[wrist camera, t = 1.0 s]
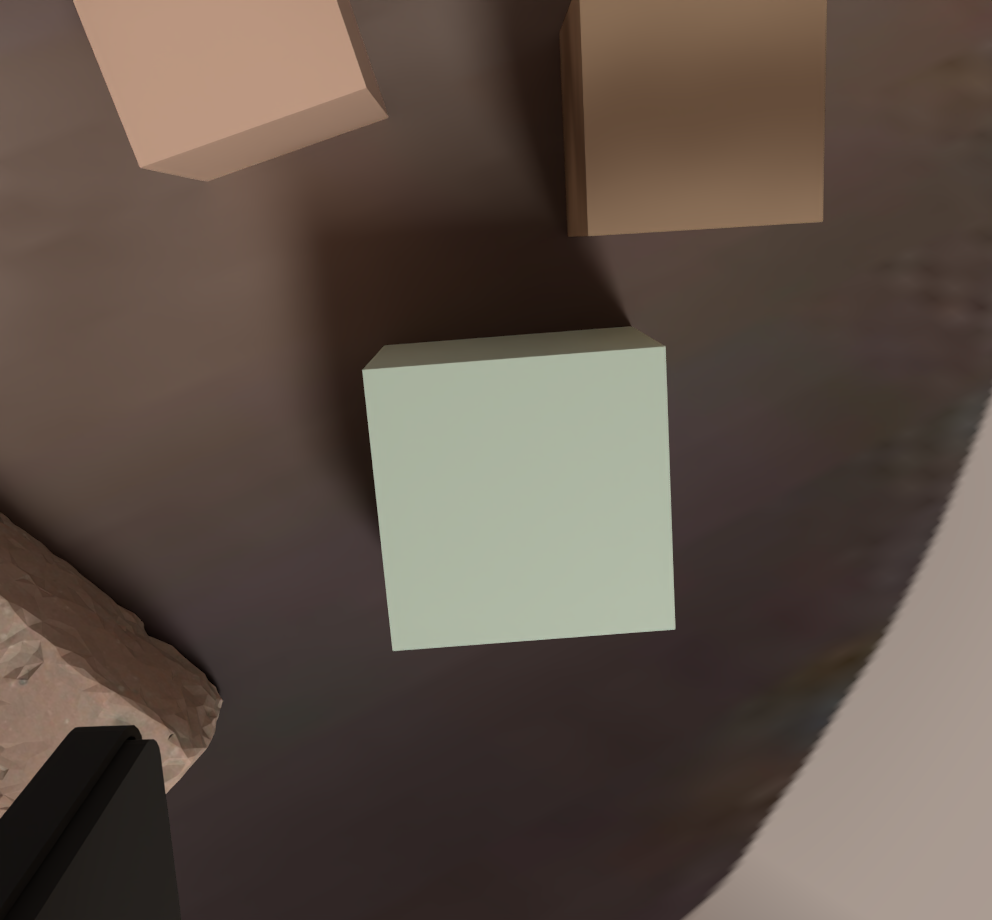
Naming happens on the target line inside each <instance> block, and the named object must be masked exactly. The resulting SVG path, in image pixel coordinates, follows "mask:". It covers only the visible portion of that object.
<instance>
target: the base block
mask: <svg viewBox="0 0 992 920" xmlns="http://www.w3.org/2000/svg"><path fill="white" fill-rule="evenodd" d="M362 373H363V382H364V391H365V400H366V409H367V419H368V428H369V437H370V446H371V456H372V465H373V474H374V483H375V492H376V502H377V511H378V520H379V529H380V538H381V548H382V557H383V566H384V575H385V585H386V594H387V603H388V612H389V621H390V631H391V640H392V649H393V651H398V650H411V649H424V648H438V647H451V646H464V645H477V644H490V643H503V642H516V641H529V640H542V639H555V638H569V637H582V636H595V635H608V634H621V633H634V632H647V631H660V630H673V629H675V608H674V579H673V550H672V522H671V493H670V464H669V435H668V406H667V377H666V349H665V346H664V345H662V344H660V343H659V342H657V341H655V340H654V339H652V338H650V337H649V336H647V335H645V334H644V333H642V332H640V331H639V330H637V329H635V328H633V327H632V326H627V327H615V328H602V329H589V330H576V331H563V332H550V333H537V334H524V335H511V336H498V337H485V338H472V339H460V340H447V341H434V342H421V343H408V344H395V345H384V346H383V347H382V349H381V350H380V351H379V352H378V353H377V354H376V355H375V356H374V357H373V359H372V360H371V361H370V362H369V363H368V364H367V365H366V366H365V367H364V368H363V370H362Z"/></svg>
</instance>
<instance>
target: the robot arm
mask: <svg viewBox="0 0 992 920" xmlns="http://www.w3.org/2000/svg"><path fill="white" fill-rule="evenodd" d="M0 920H181V914H180V906H179V898H178V890H177V882H176V874H175V866H174V858H173V849H172V841H171V833H170V825H169V817H168V809H167V801H166V793H165V785H164V777H163V769H162V760H161V753H160V748H159V745H158V743H157V741H155V740H154V739H142V735H141V733H140V731H139V729H138V728H137V727H136V726H135V725H119V726H88V727H75V728H74V729H73V730H72V731H70V732H69V733H68V735H67V736H66V737H65V738H64V740H63V741H62V742H61V743H60V745H59V746H58V747H57V748H56V750H55V751H54V752H53V753H52V755H51V756H50V757H49V758H48V760H47V761H46V762H45V763H44V765H43V766H42V767H41V768H40V770H39V771H38V772H37V773H36V775H35V776H34V777H33V778H32V780H31V781H30V782H29V783H28V785H27V786H26V787H25V788H24V790H23V791H22V792H21V793H20V795H19V796H18V797H17V798H16V800H15V801H14V802H13V803H12V805H11V806H10V807H9V808H8V809H7V811H6V812H5V813H4V814H3V816H2V817H1V818H0Z"/></svg>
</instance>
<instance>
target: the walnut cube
mask: <svg viewBox="0 0 992 920" xmlns="http://www.w3.org/2000/svg"><path fill="white" fill-rule="evenodd" d="M826 20H827V0H571V3H570V6H569V8H568V11H567V14H566V16H565V19H564V22H563V24H562V27H561V30H560V32H559V38H560V62H561V87H562V111H563V135H564V160H565V184H566V208H567V233H568V237H575V236H598V235H614V234H631V233H647V232H663V231H680V230H696V229H713V228H729V227H745V226H762V225H778V224H795V223H811V222H823V184H824V130H825V75H826Z"/></svg>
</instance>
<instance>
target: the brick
mask: <svg viewBox="0 0 992 920" xmlns="http://www.w3.org/2000/svg"><path fill="white" fill-rule="evenodd" d="M222 702H223V700H222V699H221V697H220V695H219V694H218V692H217V689H216V687H215V686H214V685H213V684H212V683H210V682H209V681H208V680H207V678H206V675H205V674H204V673H203V672H202V671H200V670H199V669H198V668H197V667H195V666H194V665H193V664H192V663H190V662H189V661H188V660H187V659H186V658H185V657H183V656H182V655H181V654H180V653H179V652H178V651H177V650H176V649H175V648H174V647H173V646H171V645H169V644H167V643H165V642H162V641H160V640H158V639H155V638H153V637H150V636H148V635H147V633H146V632H145V630H144V623H143V622H142V621H141V620H140V619H139V618H138V617H137V616H136V615H135V614H134V613H132V612H131V611H129V610H127V609H125V608H123V607H121V606H119V605H117V604H116V603H115V602H114V601H113V600H112V599H111V598H110V597H109V596H108V595H107V594H105V593H104V592H102V591H101V590H100V589H99V588H98V587H96V586H95V585H94V584H93V583H92V582H90V581H89V580H87V579H86V578H85V577H83V576H82V575H81V574H80V573H79V572H78V571H77V570H76V569H75V568H74V567H72V566H71V565H70V564H69V563H68V562H66V561H64V560H63V559H61V558H59V557H57V556H55V555H53V554H52V553H51V552H50V551H49V550H48V548H47V547H46V546H45V545H43V544H42V543H41V542H40V541H38V540H37V539H35V538H34V537H32V536H31V535H30V534H28V533H27V532H25V531H24V530H23V529H21V528H20V527H18V526H16V525H14V524H13V523H12V522H11V521H10V520H9V518H7V517H6V516H5V515H4V514H2V513H1V512H0V818H1V817H2V816H3V814H4V813H5V812H6V811H7V809H8V808H9V807H10V806H11V805H12V803H13V802H14V801H15V800H16V798H17V797H18V796H19V795H20V793H21V792H22V791H23V790H24V788H25V787H26V786H27V785H28V783H29V782H30V781H31V780H32V778H33V777H34V776H35V775H36V773H37V772H38V771H39V770H40V768H41V767H42V766H43V765H44V763H45V762H46V761H47V760H48V758H49V757H50V756H51V755H52V753H53V752H54V751H55V750H56V748H57V747H58V746H59V745H60V743H61V742H62V741H63V740H64V738H65V737H66V736H67V735H68V733H69V732H70V731H72V730H73V729H74V728H75V727H88V726H119V725H135V726H136V727H137V728H138V729H139V731H140V733H141V735H142V739H154V740H155V741H157V743H158V745H159V748H160V753H161V760H162V769H163V777H164V785H165V793H167V792H168V791H169V790H170V789H171V788H172V787H173V786H174V785H175V784H176V783H177V782H178V781H179V780H180V779H181V778H182V776H183V775H184V774H185V773H186V771H187V770H188V769H189V768H190V767H191V766H192V765H193V763H194V762H195V761H196V760H197V759H198V758H199V757H200V756H201V754H202V753H203V752H204V751H205V750H206V749H207V747H208V745H209V743H210V741H211V739H212V737H213V735H214V733H215V727H216V721H217V719H218V717H219V711H220V708H221V705H222Z"/></svg>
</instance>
